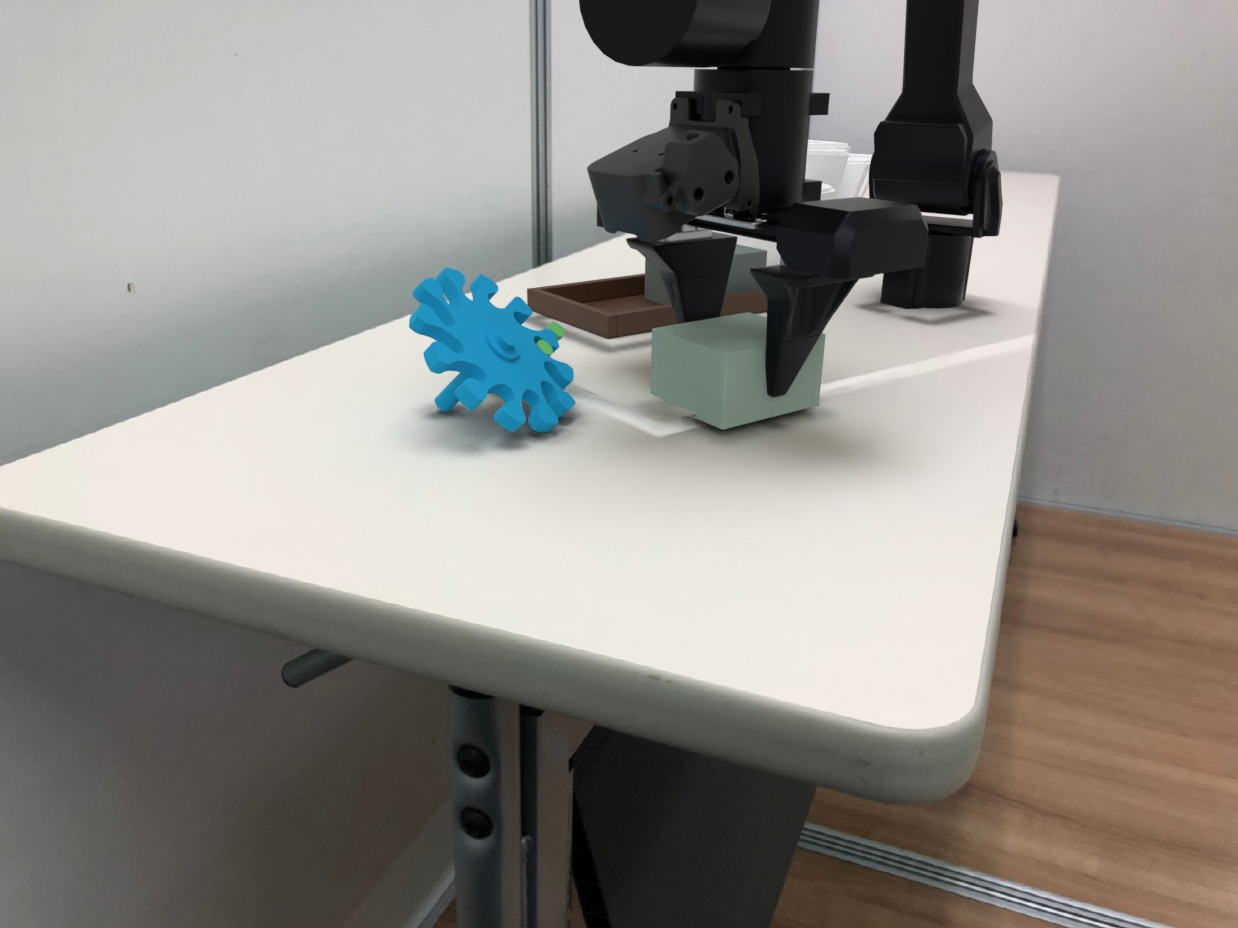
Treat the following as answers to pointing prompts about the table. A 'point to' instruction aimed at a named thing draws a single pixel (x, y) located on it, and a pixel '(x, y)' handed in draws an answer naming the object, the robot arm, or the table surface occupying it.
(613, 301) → the tray
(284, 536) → the table surface
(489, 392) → the gear
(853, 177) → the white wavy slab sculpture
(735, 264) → the pad
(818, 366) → the pale green block
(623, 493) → the table surface
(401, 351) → the table surface
